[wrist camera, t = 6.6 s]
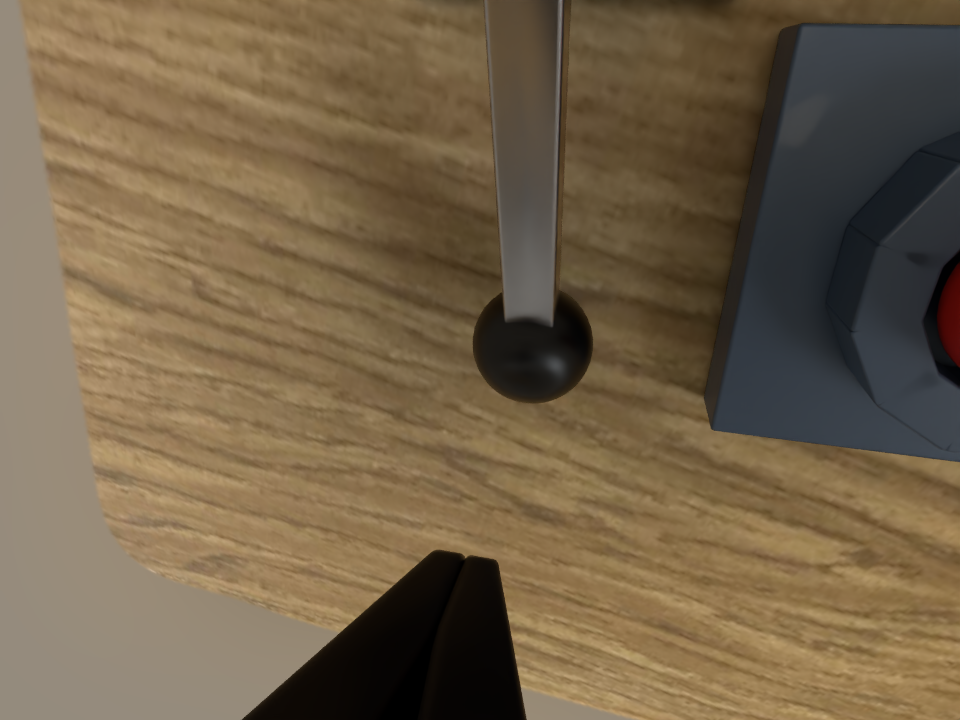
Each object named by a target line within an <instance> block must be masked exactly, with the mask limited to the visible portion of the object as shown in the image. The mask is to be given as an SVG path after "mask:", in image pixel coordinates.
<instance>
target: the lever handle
mask: <svg viewBox="0 0 960 720" xmlns="http://www.w3.org/2000/svg"><path fill="white" fill-rule="evenodd" d="M483 2H484V18H485V33H486V49H487V64H488V80H489V95H490V111H491V126H492V142H493V157H494V173H495V188H496V203H497V219H498V234H499V250H500V265H501V281H502V293H500V294H499V295H497V296H496V297H495V298H493V299H492V300H491V301H490V302H489V303H488V304H487V306H486V307H485V308H484V310H483V311H482V313H481V314H480V316H479V318H478V321H477V323H476V326H475V330H474V335H473V353H474V358H475V361H476V364H477V367H478V369H479V371H480V373H481V375H482V376H483V378H484V379H485V380H486V382H487V383H488V384H489V385H490V386H491V387H492V388H493V389H494V390H496V391H497V392H498V393H499V394H501V395H503V396H505V397H507V398H509V399H511V400H514V401H518V402H522V403H544V402H548V401H552V400H554V399H557V398H559V397H561V396H563V395H565V394H566V393H567V392H569V391H570V390H571V389H573V388H574V387H575V386H576V385H577V384H578V382H579V381H580V380H581V379H582V377H583V376H584V374H585V372H586V371H587V368H588V366H589V363H590V361H591V356H592V351H593V336H592V330H591V326H590V323H589V321H588V318H587V316H586V315H585V313H584V311H583V310H582V308H581V307H580V306H579V304H578V303H577V302H576V301H575V300H574V299H573V298H572V297H570V296H569V295H567V294H566V293H564V292H563V291H561V290H560V270H561V245H562V219H563V194H564V168H565V143H566V117H567V92H568V66H569V41H570V16H571V0H483Z"/></svg>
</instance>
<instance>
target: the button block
mask: <svg viewBox="0 0 960 720" xmlns="http://www.w3.org/2000/svg"><path fill="white" fill-rule="evenodd" d="M959 262H960V25H923V24H849V23H802V24H798V25H794V26H790V27H786V28H783V29H782V30H781V32H780V35H779V40H778V45H777V49H776V54H775V59H774V64H773V69H772V73H771V78H770V83H769V88H768V93H767V97H766V102H765V107H764V112H763V117H762V122H761V126H760V131H759V136H758V141H757V146H756V150H755V155H754V160H753V165H752V170H751V174H750V179H749V184H748V189H747V194H746V198H745V203H744V208H743V213H742V218H741V222H740V227H739V232H738V237H737V242H736V246H735V251H734V256H733V261H732V266H731V270H730V275H729V280H728V285H727V290H726V294H725V299H724V304H723V309H722V314H721V319H720V323H719V328H718V333H717V338H716V343H715V347H714V352H713V357H712V362H711V367H710V371H709V376H708V381H707V386H706V391H705V395H704V400H705V405H706V409H707V413H708V418H709V422H710V426H711V429H712V430H714V431H722V432H729V433H737V434H745V435H753V436H761V437H768V438H776V439H784V440H792V441H800V442H807V443H815V444H823V445H831V446H839V447H846V448H854V449H862V450H870V451H878V452H885V453H893V454H901V455H909V456H917V457H924V458H932V459H940V460H948V461H955V462H960V368H959V367H958V366H957V365H956V364H955V363H954V362H953V360H952V359H951V358H950V357H949V356H948V354H947V352H946V351H945V349H944V347H943V345H942V342H941V340H940V337H939V332H938V328H937V312H938V304H939V300H940V297H941V293H942V290H943V288H944V286H945V284H946V281H947V279H948V278H949V276H950V274H951V273H952V271H953V270H954V268H955V267H956V265H957V264H958V263H959Z"/></svg>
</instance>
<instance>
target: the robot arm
mask: <svg viewBox="0 0 960 720" xmlns="http://www.w3.org/2000/svg"><path fill="white" fill-rule="evenodd" d="M242 720H527V719H526V714H525V709H524V703H523V698H522V692H521V686H520V681H519V675H518V670H517V664H516V659H515V653H514V648H513V642H512V637H511V631H510V626H509V620H508V615H507V609H506V604H505V598H504V593H503V587H502V582H501V576H500V571H499V565H498V563H497V561H496V560H494V559H490V558H484V557H478V556H473V555H470V556H468V557H467V558H466V559H465V556H463V555H462V554H461V553H455V552H450V551H444V550H435V551H432V552H431V553H430V554H429V555H428V556H426V557H425V558H424V559H423V560H422V561H421V562H420V563H419V564H417V565H416V566H415V567H414V568H413V569H412V570H411V571H409V572H408V573H407V574H406V575H405V576H404V577H403V578H402V579H400V580H399V581H398V582H397V583H396V584H395V585H394V586H392V587H391V588H390V589H389V590H388V591H387V592H386V593H385V594H383V595H382V596H381V597H380V598H379V599H378V600H377V601H376V602H374V603H373V604H372V605H371V606H370V607H369V608H368V609H366V610H365V611H364V612H363V613H362V614H361V615H360V616H359V617H357V618H356V619H355V620H354V621H353V622H352V623H351V624H349V625H348V626H347V627H346V628H345V629H344V630H343V631H342V632H340V633H339V634H338V635H337V636H336V637H335V638H334V639H333V640H331V641H330V642H329V643H328V644H327V645H326V646H325V647H323V648H322V649H321V650H320V651H319V652H318V653H317V654H316V655H314V656H313V657H312V658H311V659H310V660H309V661H308V662H307V663H305V664H304V665H303V666H302V667H301V668H300V669H299V670H298V671H296V672H295V673H294V674H293V675H292V676H291V677H290V678H288V679H287V680H286V681H285V682H284V683H283V684H282V685H280V686H279V687H278V688H277V689H276V690H275V691H274V692H273V693H271V694H270V695H269V696H268V697H267V698H266V699H265V700H264V701H262V702H261V703H260V704H259V705H258V706H257V707H256V708H254V709H253V710H252V711H251V712H250V713H249V714H248V715H246V716H245V717H244V718H243V719H242Z"/></svg>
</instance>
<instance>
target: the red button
mask: <svg viewBox="0 0 960 720" xmlns="http://www.w3.org/2000/svg"><path fill="white" fill-rule="evenodd" d="M937 328H938V332H939V337H940V340H941V342H942V345H943V347H944V349H945V351H946V352H947V354H948V356H949V357H950V358H951V359H952V360H953V362H954V363H955V364H956V365H957V366H958V367H959V368H960V262H959V263H958V264H957V265H956V267H955V268H954V270H953V271H952V273H951V274H950V276H949V278H948V279H947V281H946V284H945V286H944V288H943V290H942V293H941V297H940V300H939V304H938V312H937Z"/></svg>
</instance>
